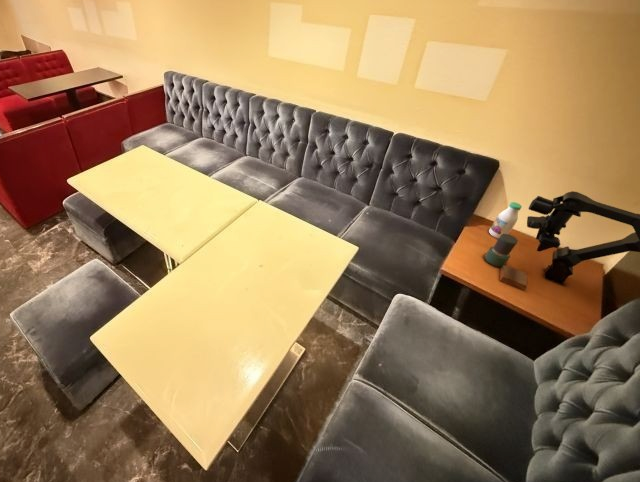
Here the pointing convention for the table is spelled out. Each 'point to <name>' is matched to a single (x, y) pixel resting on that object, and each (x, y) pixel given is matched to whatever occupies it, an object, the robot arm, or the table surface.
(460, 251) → the table surface
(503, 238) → the cap
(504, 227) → the milk bottle
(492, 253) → the green cylinder
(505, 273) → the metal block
